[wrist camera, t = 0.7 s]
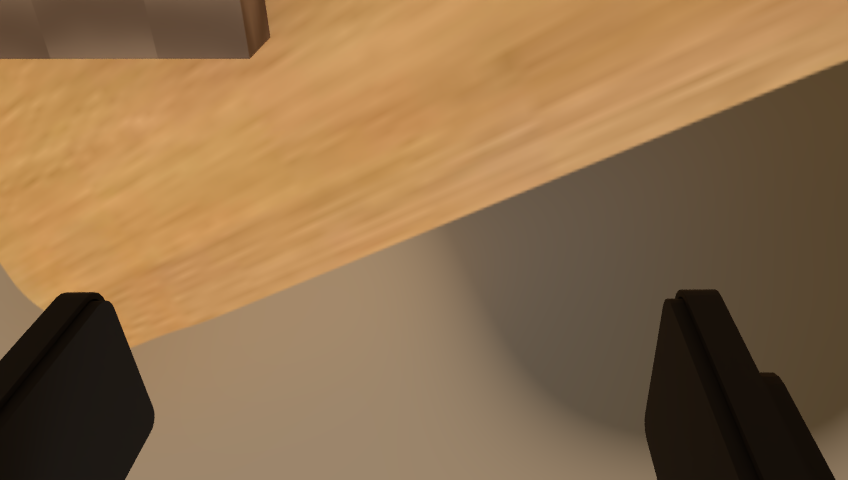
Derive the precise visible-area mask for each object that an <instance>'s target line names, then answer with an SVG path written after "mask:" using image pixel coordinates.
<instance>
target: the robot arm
mask: <svg viewBox="0 0 848 480" xmlns="http://www.w3.org/2000/svg"><path fill="white" fill-rule="evenodd" d="M153 424H154V409H153V406H152V404H151V401H150V398H149V396H148V393H147V391H146V388H145V386H144V383H143V381H142V378H141V375H140V373H139V370H138V368H137V365H136V363H135V360H134V358H133V355H132V352H131V350H130V347H129V345H128V342H127V340H126V337H125V335H124V332H123V329H122V327H121V324H120V322H119V319H118V317H117V314H116V312H115V309H114V307H113V305H112V304H111V303H110V302H109V301H105V300H104V298H103V297H102V296H101V295H100V294H99V293H95V292H74V293H62V294H60V295H59V296H58V297H56V299H55V300H54V301H53V302H52V303H51V304H50V305H49V306H48V308H47V309H46V310H45V311H44V312H43V313H42V314H41V315H40V317H39V318H38V319H37V320H36V321H35V322H34V323H33V324H32V326H31V327H30V328H29V329H28V330H27V331H26V332H25V333H24V334H23V336H22V337H21V338H20V339H19V340H18V341H17V342H16V344H15V345H14V346H13V347H12V348H11V349H10V350H9V351H8V353H7V354H6V355H5V356H4V357H3V358H2V359H1V360H0V480H125V478H126V477H127V475H128V473H129V471H130V469H131V467H132V465H133V464H134V462H135V460H136V458H137V456H138V454H139V452H140V451H141V449H142V447H143V445H144V443H145V441H146V439H147V438H148V436H149V434H150V432H151V430H152V428H153ZM645 433H646V438H647V442H648V446H649V450H650V454H651V457H652V461H653V465H654V469H655V472H656V476H657V480H835V478H834V476H833V474H832V472H831V470H830V469H829V467H828V465H827V463H826V461H825V459H824V457H823V456H822V454H821V452H820V450H819V448H818V446H817V444H816V442H815V441H814V439H813V437H812V435H811V433H810V431H809V429H808V427H807V426H806V424H805V422H804V420H803V419H802V416H801V415H800V413H799V411H798V409H797V407H796V405H795V403H794V401H793V400H792V398H791V396H790V394H789V392H788V390H787V388H786V386H785V384H784V383H783V382H782V380H781V379H780V377H779V376H777V375H776V374H775V373H759V371H758V369H757V367H756V365H755V363H754V361H753V359H752V357H751V355H750V353H749V351H748V349H747V347H746V345H745V343H744V341H743V339H742V337H741V335H740V333H739V331H738V329H737V327H736V325H735V323H734V321H733V319H732V317H731V315H730V313H729V311H728V309H727V307H726V305H725V303H724V301H723V299H722V297H721V295H720V294H719V292H718V291H717V290H679V291H678V292H677V294H676V297H675V299H666V300H665V302H664V304H663V309H662V316H661V322H660V328H659V334H658V340H657V346H656V352H655V358H654V364H653V370H652V376H651V382H650V389H649V395H648V400H647V406H646V412H645Z"/></svg>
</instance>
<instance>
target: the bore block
mask: <svg viewBox="0 0 848 480" xmlns="http://www.w3.org/2000/svg"><path fill="white" fill-rule="evenodd" d="M269 38H270V33H269V26H268V19H267V13H266V6H265V0H0V59H250V58H251V57H252V56H253V55H254V54H255V53H256V52H257V51H258V49H259V48H260V47H261V46H262V45H263V44H264V43H265V42H266V41H267V40H268V39H269Z"/></svg>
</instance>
